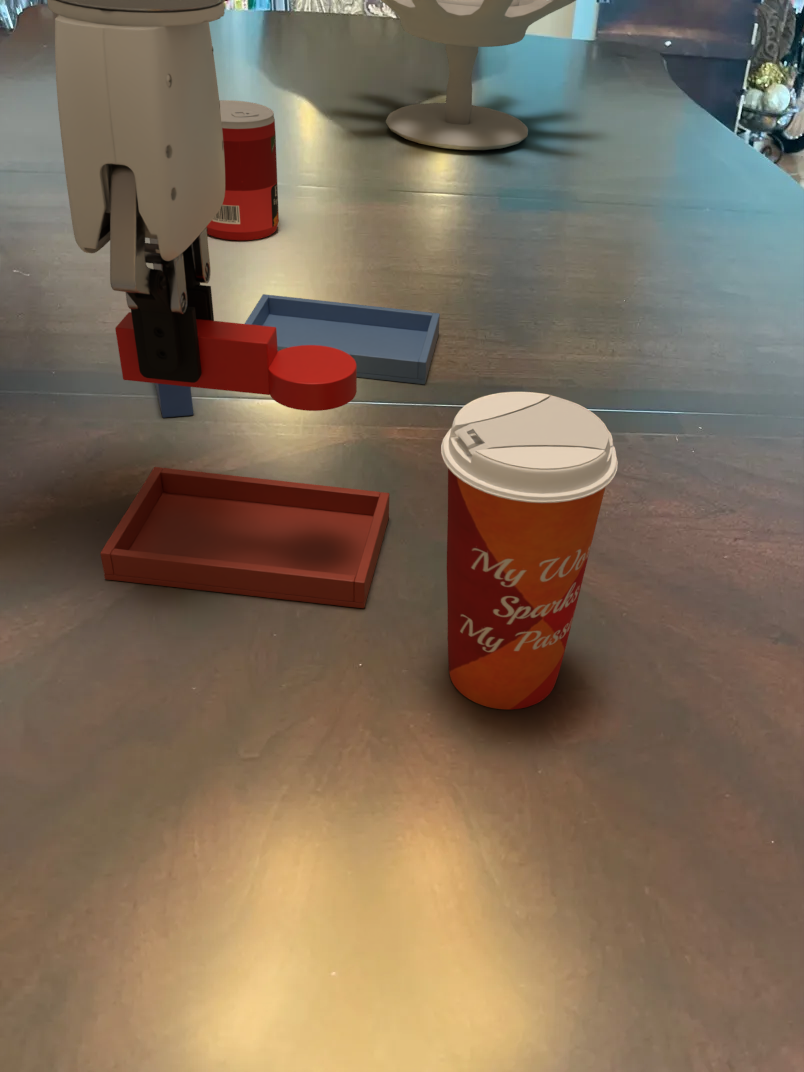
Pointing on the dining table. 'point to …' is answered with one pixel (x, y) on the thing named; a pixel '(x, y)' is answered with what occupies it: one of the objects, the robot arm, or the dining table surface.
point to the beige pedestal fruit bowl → (464, 68)
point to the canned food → (247, 173)
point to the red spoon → (257, 365)
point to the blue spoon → (174, 400)
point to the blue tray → (356, 334)
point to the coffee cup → (519, 539)
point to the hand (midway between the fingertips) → (179, 363)
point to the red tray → (250, 537)
